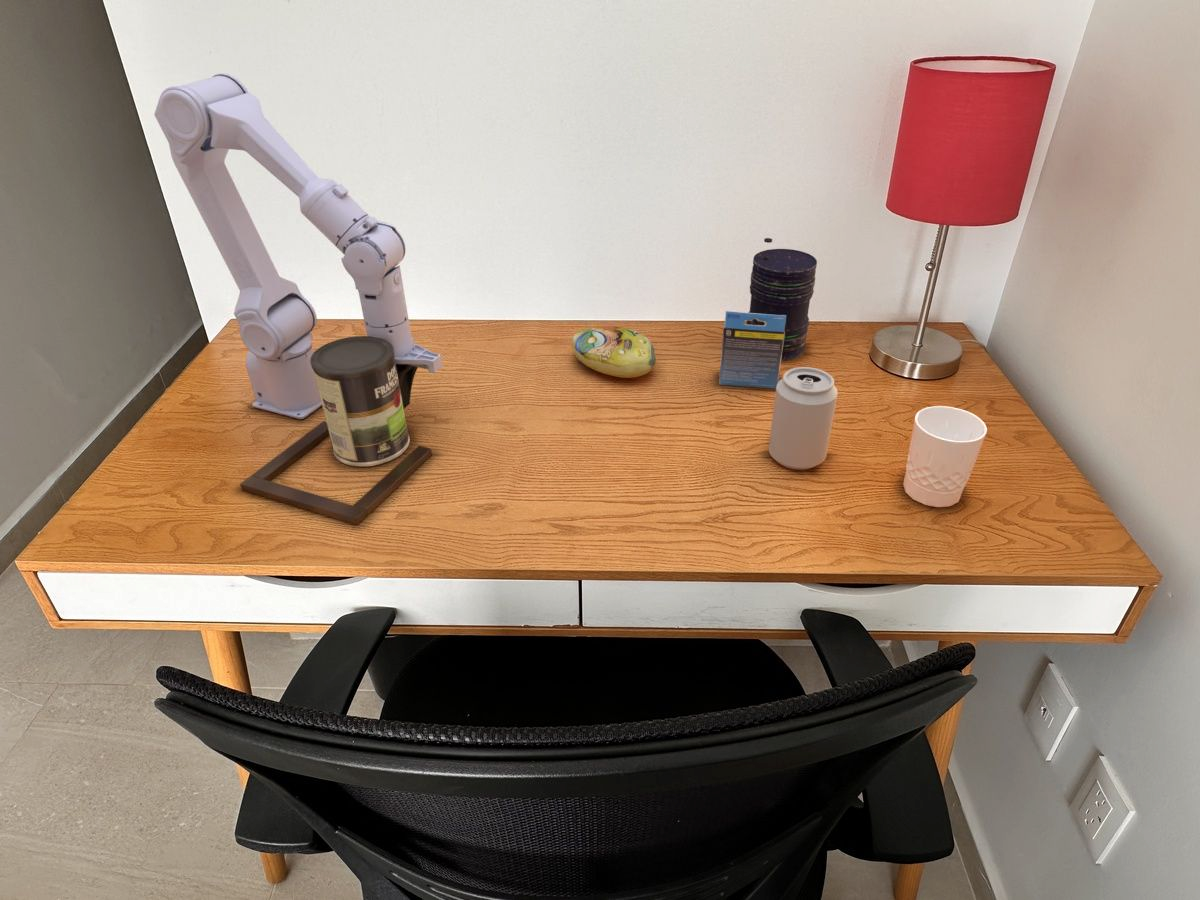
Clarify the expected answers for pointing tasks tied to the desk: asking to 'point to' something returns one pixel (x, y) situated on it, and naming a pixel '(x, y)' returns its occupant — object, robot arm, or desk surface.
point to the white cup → (942, 454)
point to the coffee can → (361, 400)
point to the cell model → (614, 351)
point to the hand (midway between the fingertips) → (402, 406)
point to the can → (802, 418)
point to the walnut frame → (322, 505)
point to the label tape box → (751, 350)
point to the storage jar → (784, 293)
